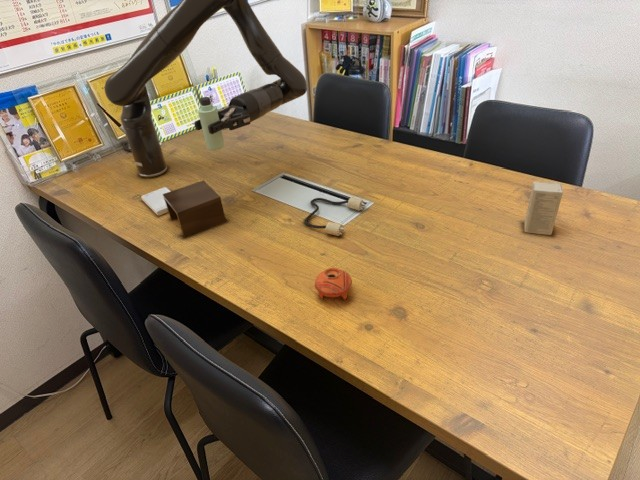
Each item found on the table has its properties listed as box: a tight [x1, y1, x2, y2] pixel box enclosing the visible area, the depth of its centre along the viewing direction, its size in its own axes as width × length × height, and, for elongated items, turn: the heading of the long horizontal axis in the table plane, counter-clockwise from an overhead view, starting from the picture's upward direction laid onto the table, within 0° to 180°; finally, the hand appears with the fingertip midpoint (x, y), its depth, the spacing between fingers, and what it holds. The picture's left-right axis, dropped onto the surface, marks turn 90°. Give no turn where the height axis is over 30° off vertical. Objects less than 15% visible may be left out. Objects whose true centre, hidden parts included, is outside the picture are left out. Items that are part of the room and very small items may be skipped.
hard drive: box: [140, 186, 172, 217], centre depth 134 cm, size 2×8×12 cm
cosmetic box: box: [523, 181, 564, 236], centre depth 107 cm, size 6×4×12 cm
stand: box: [163, 180, 227, 238], centre depth 123 cm, size 12×12×8 cm
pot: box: [314, 267, 353, 301], centre depth 95 cm, size 8×8×7 cm
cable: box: [304, 196, 366, 237], centre depth 120 cm, size 16×16×4 cm
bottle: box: [197, 96, 226, 151], centre depth 112 cm, size 5×5×13 cm
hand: (202, 128), depth 111 cm, fingers closed on bottle, 4 cm apart
